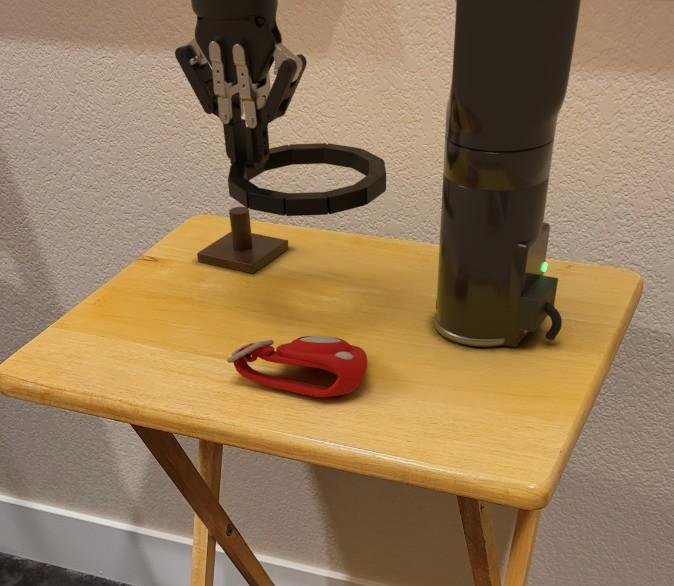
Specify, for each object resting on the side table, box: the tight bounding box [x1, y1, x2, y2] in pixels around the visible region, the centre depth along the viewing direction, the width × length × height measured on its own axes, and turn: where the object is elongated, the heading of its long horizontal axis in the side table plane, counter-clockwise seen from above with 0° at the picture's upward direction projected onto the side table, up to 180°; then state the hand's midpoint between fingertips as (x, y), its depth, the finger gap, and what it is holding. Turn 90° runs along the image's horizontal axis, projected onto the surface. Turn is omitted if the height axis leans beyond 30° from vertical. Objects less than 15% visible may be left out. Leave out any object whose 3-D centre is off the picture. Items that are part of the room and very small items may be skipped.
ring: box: [227, 142, 387, 217], centre depth 84 cm, size 15×15×2 cm
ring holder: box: [196, 206, 289, 274], centre depth 99 cm, size 8×8×5 cm
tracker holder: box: [226, 335, 368, 398], centre depth 79 cm, size 12×4×10 cm
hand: (249, 164), depth 86 cm, fingers closed on ring, 1 cm apart
